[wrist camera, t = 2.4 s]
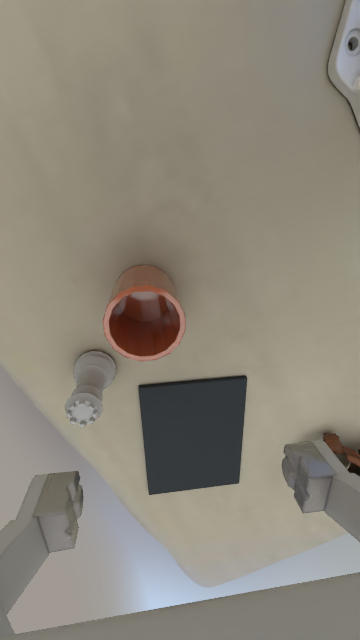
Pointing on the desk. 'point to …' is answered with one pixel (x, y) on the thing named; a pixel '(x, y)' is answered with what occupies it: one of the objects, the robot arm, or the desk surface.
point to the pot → (144, 314)
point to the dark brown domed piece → (344, 452)
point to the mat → (193, 433)
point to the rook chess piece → (89, 387)
